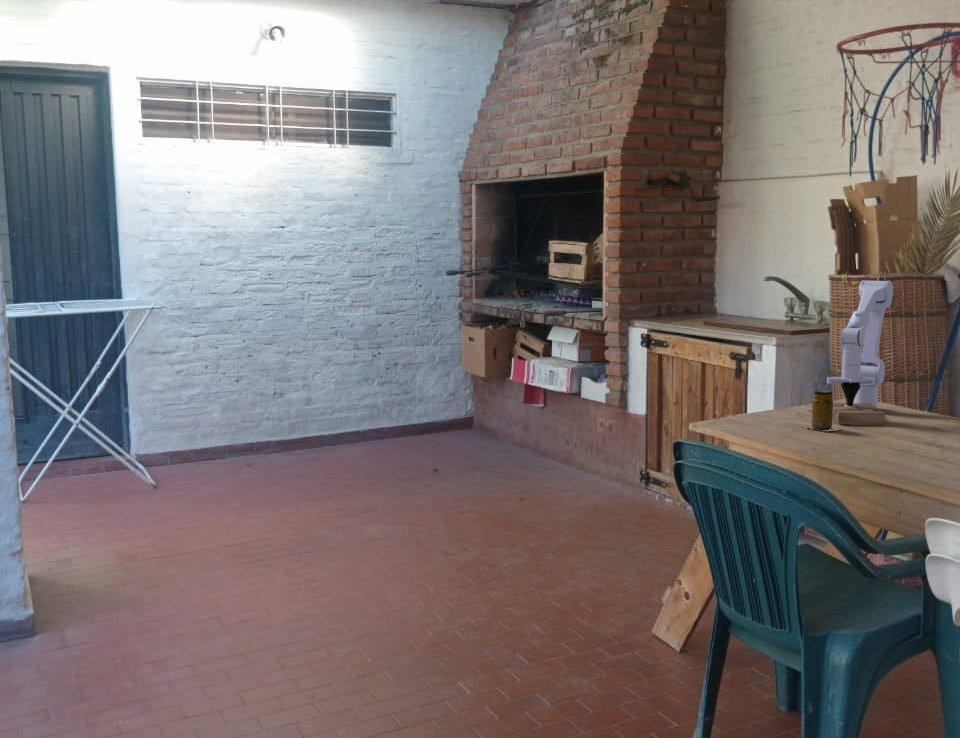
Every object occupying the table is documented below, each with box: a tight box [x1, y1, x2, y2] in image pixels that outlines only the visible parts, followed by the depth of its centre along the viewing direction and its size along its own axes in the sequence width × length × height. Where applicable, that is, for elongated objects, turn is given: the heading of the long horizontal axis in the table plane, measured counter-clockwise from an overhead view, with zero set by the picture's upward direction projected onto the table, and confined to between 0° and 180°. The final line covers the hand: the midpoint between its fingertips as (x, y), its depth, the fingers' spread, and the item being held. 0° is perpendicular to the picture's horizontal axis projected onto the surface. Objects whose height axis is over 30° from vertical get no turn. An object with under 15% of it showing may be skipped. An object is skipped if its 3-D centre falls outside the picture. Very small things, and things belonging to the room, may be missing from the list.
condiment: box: [811, 389, 834, 433], centre depth 309 cm, size 7×8×12 cm
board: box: [832, 402, 886, 426], centre depth 323 cm, size 16×14×4 cm
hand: (849, 405), depth 326 cm, fingers closed, pressing on peg
